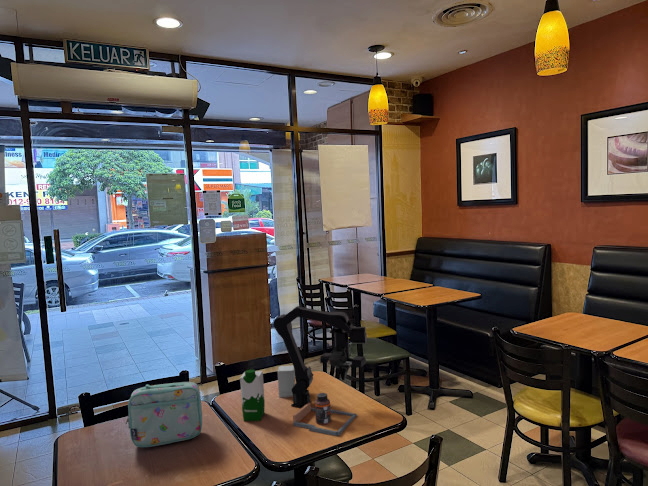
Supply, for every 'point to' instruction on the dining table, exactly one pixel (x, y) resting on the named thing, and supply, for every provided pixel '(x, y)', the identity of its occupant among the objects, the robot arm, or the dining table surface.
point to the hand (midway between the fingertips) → (343, 380)
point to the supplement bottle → (322, 409)
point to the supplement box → (286, 380)
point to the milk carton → (252, 395)
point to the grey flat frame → (303, 413)
